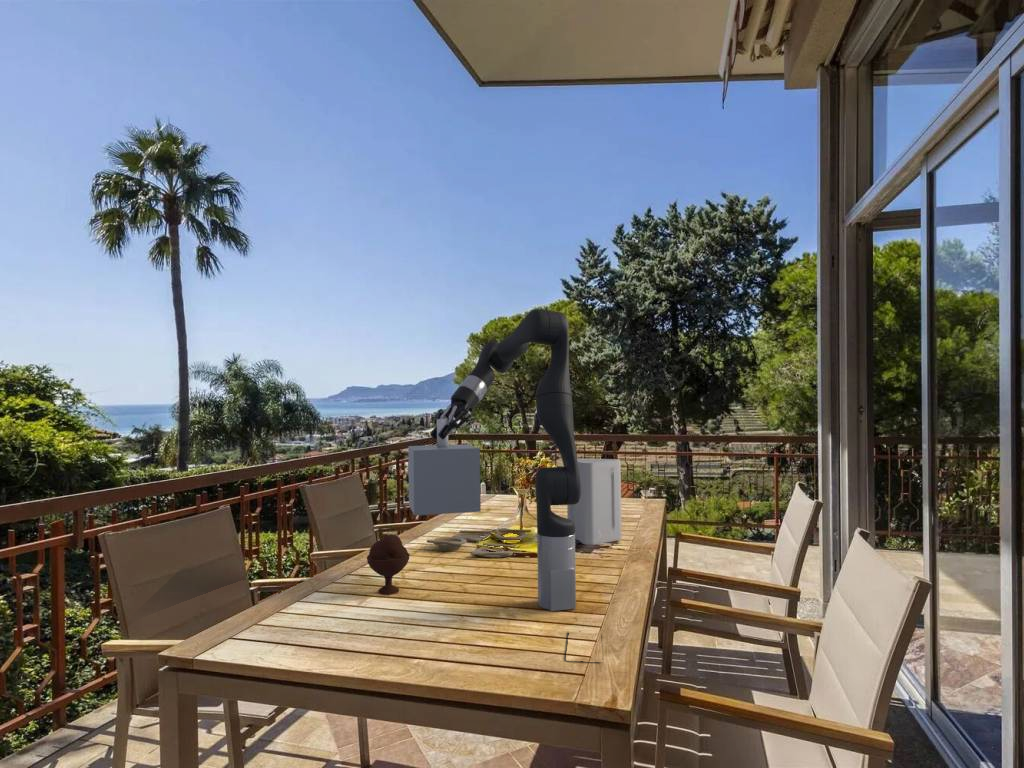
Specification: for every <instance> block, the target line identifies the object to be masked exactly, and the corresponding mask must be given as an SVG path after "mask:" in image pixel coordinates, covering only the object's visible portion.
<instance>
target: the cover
mask: <svg viewBox="0 0 1024 768" xmlns="http://www.w3.org/2000/svg"><path fill="white" fill-rule="evenodd" d="M447 422H448V419H447V418H446V419H437V438H436V445H431V444H430V445H409V446H408V454H407V455H408V506H409V508H410V510H411V512H412V514H413V516H429V515H432V516H433V515H445V514H448V515H449V514H460V513H461V514H463V513H464V514H465V513H480V512H481V511H482V509H481V508H482V507H481V459H480V458H481V453H480V452H481V448H480V447H478V446H475V445H472V444H469V443H468V444H467V443H466V444H449V434H448V435H447V436H446V438H445V439H441V438H440V437H439V436H438V434H439V432H440V431H441V430H442V428H443V427H444V426H445V425H446V423H447Z"/></svg>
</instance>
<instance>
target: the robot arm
mask: <svg viewBox="0 0 1024 768" xmlns="http://www.w3.org/2000/svg"><path fill="white" fill-rule="evenodd" d="M569 327H570V326H569V320H568V317H567V315H566V314H564V313H563V312H560V311H556V310H551V309H550V310H549V309H543V308H536V309H532V310H530V311H529V312H528V313H527V314H526V315H525V316H524V317H523V318H522V320H521V321H520V322H519V324H518V325H517V326H516V328H515V329H514V330H513V331H512V332H511V333H510V334H509V335H507V336H506V337H504V338H503V339H501V340H500V341H499V342H498V341H497V340H490V341H488V342H486V343H485V344H484V345H483V347H482V349H481V351H480V354H479V357H478V361H477V363H476V364H475V367H474V368H473V369H472V371H470V373H469V375H468V376H467V377H466V378H465V379H464V380H463V381H462V382H461V384H460V385H459V386H458V387H457V389H456V390H455V391H454V392H453V394H452V395H451V397H450V404H449V405H448V406H447V407H446V409H444V410H443V409H442V408H440V409H439V410H438V411H437V413H436V416H435V418H434V420H433V423H434V425H435V427H434V428H433V429H432V430H431V432H430V437H431V438H432V439H433V440H437V419H448V422H447V423H446V425H445V426H444V427H443V428H442V430H441V431H440V432H439V434H438V436H439V437H440V438H441V439H445V438H446V436H447V435H448V436H449V434H450V432H451V431H454V430H455V429H459V428H460V427H462V426H463V425H464V423H466V422H467V421H468V420H469V419H471V418H472V417H473V414H472V412H473V411H474V410H475V409H476V407H477V406H478V405H479V403H480V401H481V400H482V399H483V397H484V396H485V394H486V392H487V391H488V389H489V388H490V387H491V385H492V384H493V382H494V381H495V379H496V373H495V371H496V372H497V373H500V374H501V373H502V374H504V373H506V372H508V371H509V370H510V369H511V368H512V366H513V364H514V362H515V360H516V359H519V358H521V357H522V356H523V355H524V354H525V353H526V352H527V350H528V349H529V343H533V344H537V345H544V346H549V347H550V362H549V364H548V367H547V370H546V371H545V373H544V374H543V375H542V378H541V379H540V381H539V383H538V384H537V387H536V390H535V405H536V406H535V407H536V416H537V419H538V421H539V423H540V425H541V427H542V428H543V429H544V431H545V432H546V433H547V435H548V436H549V438H550V439H551V440H552V441H553V443H554V444H555V446H556V448H557V449H558V452H559V455H560V457H561V460H562V464H563V466H552V467H551V466H549V467H547V466H546V467H545V466H544V467H540V468H538V469H537V471H536V473H535V478H534V479H535V480H534V483H535V485H534V488H535V499H536V501H535V502H536V527H537V528H536V529H537V530H536V531H537V532H536V533H537V534H536V537H537V538H536V539H537V544H536V545H537V546H536V547H537V551H536V553H537V556H536V557H537V604H538V606H539V607H540V608H543V609H545V610H549V611H550V612H557V611H565V610H576V606H577V594H576V593H577V589H576V588H577V586H576V585H577V584H576V574H577V573H576V540H575V524H574V522H573V521H572V520H570V519H568V518H566V517H564V516H560V515H558V514H557V513H555V512H554V511H552V508H551V507H552V506H567V505H573V504H577V503H578V502H579V500H580V497H581V482H580V474H579V467H578V461H577V459H578V455H577V448H576V441H575V439H576V438H575V429H574V427H575V426H574V411H573V410H574V408H573V407H574V406H573V396H572V395H573V394H572V388H571V387H572V386H571V380H570V379H571V378H570V377H571V376H570V375H571V374H570V328H569ZM493 369H494V370H495V371H494V370H493Z"/></svg>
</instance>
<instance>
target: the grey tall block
mask: <svg viewBox="0 0 1024 768" xmlns="http://www.w3.org/2000/svg"><path fill="white" fill-rule="evenodd" d="M577 461H578V467H579V474H580V482H581V497H580V500H579V502H578V503H577V504H573V505H566V506H567V507H566V508H567V519H570V520H572V521H573V522H574V524H575V539H577V540H579V541H580V542H581V544H583V545H585V546H595V545H601V544H605V543H611V542H614V541H615V542H616V541H620V540H621V539H622V537H623V536H622V535H623V534H622V487H621V486H622V484H621V483H622V480H621V478H622V476H621V475H622V473H621V459H620V458H619V459H618V458H577ZM580 542H579V543H580Z"/></svg>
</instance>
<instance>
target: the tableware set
mask: <svg viewBox="0 0 1024 768" xmlns="http://www.w3.org/2000/svg"><path fill="white" fill-rule="evenodd" d="M492 531H493V530H488V529H486V530H462V529H461V530H459V531H458V533H456V534H454V535H451V536H445V537H442V536H441V537H437V538H435V539H427V540H426V543H429V544H433V545H436V546H437V547H438V549H439V550H440V551H442V552H455V551H458V550H460V549H461V548H462V545H465V544H466V543H467V542H477V543H479V542H478V541H480V542H482V541H481V539H485V538H487V537H488V536H489V534H491V533H492ZM508 533H513V534H517V535H519V536H517V537H504V536H503V535H505V534H508ZM528 533H532V529H511V528H498V531H497V532H496V533H495V534H494V537H495V538H496V539H499V540H500V539H501V540H520V539H522V540H523V539H525V538H527V537H528ZM479 536H485V537H482V538H478V537H479ZM484 545H487V546H494V547H500V546H503V547H510V548H513V549H516V548H517V546H516V545H514V544H505V543H502V544H501V543H492V542H482V546H480V547H478V548H475V549H473V550H472V553H471V555H474V556H478V557H482V558H483V557H484V558H491V559H492V558H493V559H494V558H495V559H496V558H506V557H510V556H513V555H514V554H513V552H489V551H486V548H485V547H486V546H484ZM512 554H513V555H512Z"/></svg>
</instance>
